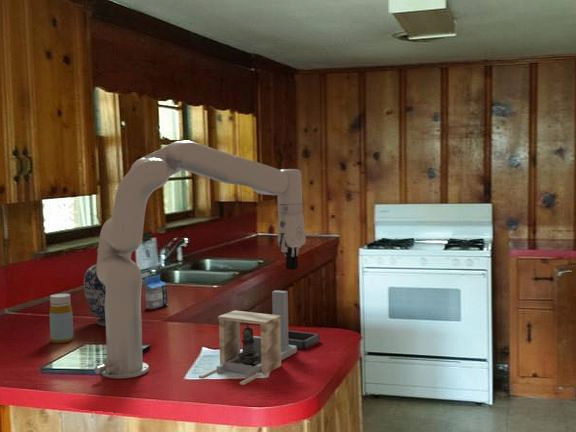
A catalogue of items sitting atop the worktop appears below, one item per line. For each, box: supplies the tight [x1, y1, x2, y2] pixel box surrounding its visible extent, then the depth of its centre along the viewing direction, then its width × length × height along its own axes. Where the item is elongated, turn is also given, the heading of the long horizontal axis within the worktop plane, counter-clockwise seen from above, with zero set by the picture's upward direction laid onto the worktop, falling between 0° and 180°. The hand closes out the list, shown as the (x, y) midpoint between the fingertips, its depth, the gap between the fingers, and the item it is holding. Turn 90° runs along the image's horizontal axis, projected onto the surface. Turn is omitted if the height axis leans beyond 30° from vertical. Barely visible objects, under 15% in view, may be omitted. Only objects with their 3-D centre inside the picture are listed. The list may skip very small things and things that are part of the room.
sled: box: [216, 289, 298, 378], centre depth 195 cm, size 28×10×18 cm, turn 151°
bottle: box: [48, 293, 74, 344], centre depth 222 cm, size 7×7×15 cm
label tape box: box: [144, 274, 169, 310], centre depth 271 cm, size 9×4×12 cm, turn 148°
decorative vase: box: [83, 248, 106, 327], centre depth 245 cm, size 21×19×28 cm
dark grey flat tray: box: [288, 329, 321, 350], centre depth 214 cm, size 10×12×2 cm
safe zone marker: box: [198, 366, 263, 386], centre depth 183 cm, size 9×14×1 cm, turn 61°
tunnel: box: [217, 310, 282, 375], centre depth 191 cm, size 8×16×14 cm, turn 61°
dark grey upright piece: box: [238, 324, 259, 367], centre depth 190 cm, size 6×6×12 cm
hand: (292, 268), depth 210 cm, fingers closed
